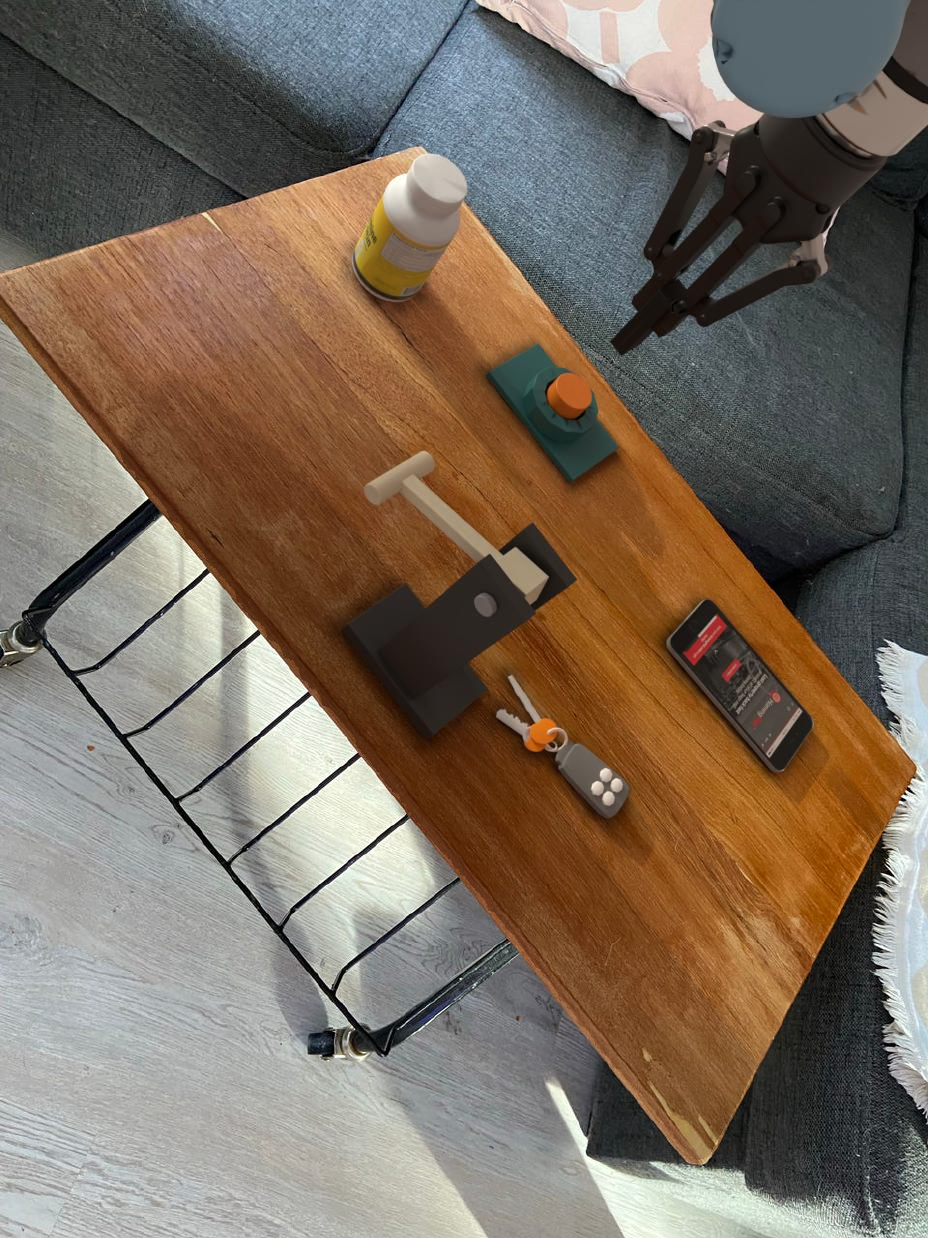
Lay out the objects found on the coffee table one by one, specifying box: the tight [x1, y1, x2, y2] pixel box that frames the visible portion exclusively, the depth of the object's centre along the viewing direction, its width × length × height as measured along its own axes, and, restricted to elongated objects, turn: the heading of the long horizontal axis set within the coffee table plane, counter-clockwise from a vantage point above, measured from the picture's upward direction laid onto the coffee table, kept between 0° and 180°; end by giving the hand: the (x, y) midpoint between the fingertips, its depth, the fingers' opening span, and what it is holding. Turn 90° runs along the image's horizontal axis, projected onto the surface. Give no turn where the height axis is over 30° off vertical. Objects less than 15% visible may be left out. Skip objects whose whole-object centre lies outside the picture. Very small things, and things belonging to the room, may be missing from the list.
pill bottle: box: [351, 153, 468, 303], centre depth 80 cm, size 6×6×12 cm
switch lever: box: [363, 450, 549, 605], centre depth 60 cm, size 12×5×2 cm, turn 43°
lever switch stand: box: [340, 522, 578, 741], centre depth 65 cm, size 10×6×18 cm, turn 43°
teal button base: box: [485, 343, 620, 484], centre depth 86 cm, size 12×7×2 cm, turn 43°
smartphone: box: [666, 598, 815, 774], centre depth 85 cm, size 7×1×15 cm
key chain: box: [495, 674, 630, 820], centre depth 75 cm, size 13×4×2 cm, turn 53°
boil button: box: [547, 373, 592, 419], centre depth 85 cm, size 4×4×2 cm
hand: (625, 342), depth 78 cm, fingers closed
